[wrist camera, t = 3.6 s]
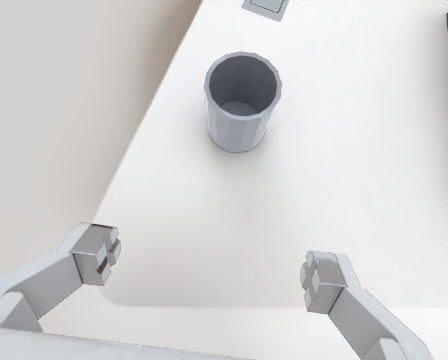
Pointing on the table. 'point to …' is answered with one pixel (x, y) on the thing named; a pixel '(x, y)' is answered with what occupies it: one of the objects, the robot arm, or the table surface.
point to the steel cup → (240, 100)
